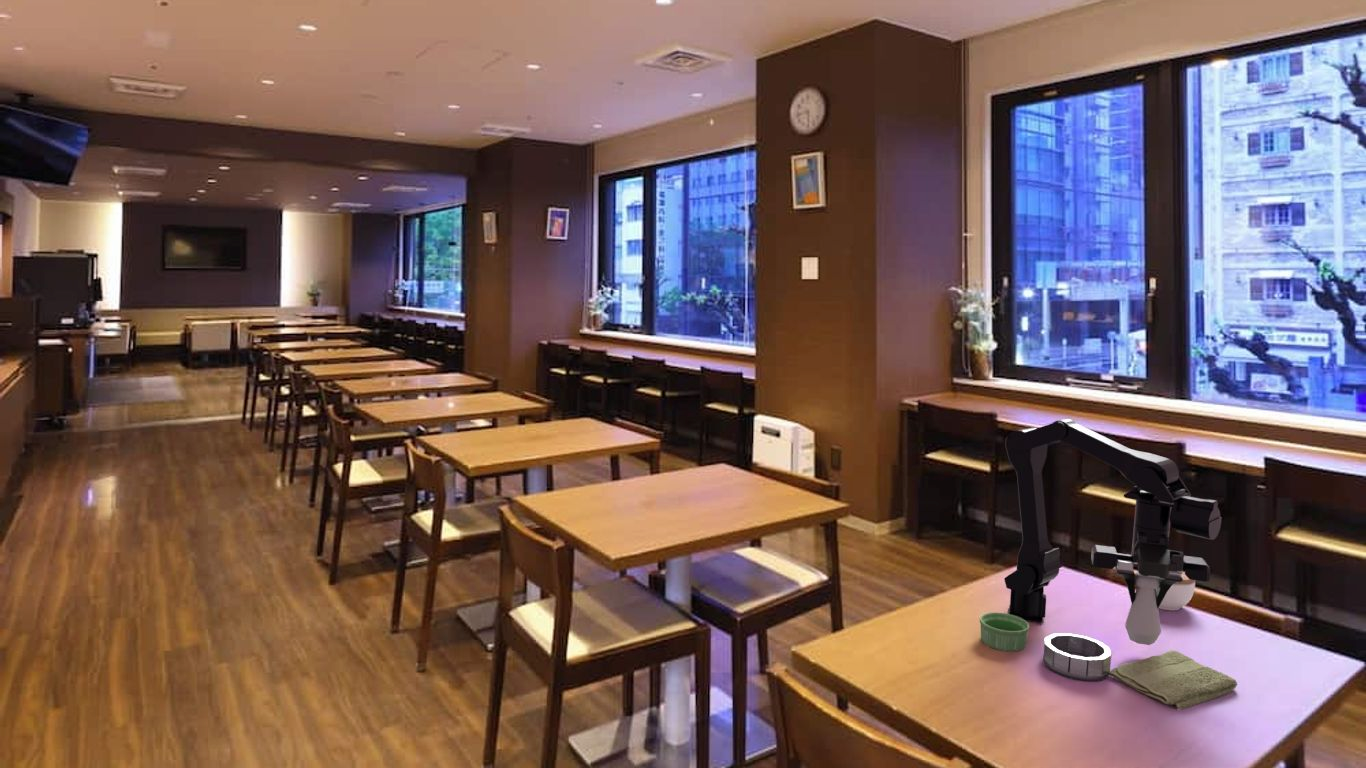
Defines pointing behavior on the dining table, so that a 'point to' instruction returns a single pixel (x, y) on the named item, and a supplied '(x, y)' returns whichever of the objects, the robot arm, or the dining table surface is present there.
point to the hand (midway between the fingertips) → (1144, 606)
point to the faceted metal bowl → (1077, 657)
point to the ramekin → (1003, 631)
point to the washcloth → (1174, 679)
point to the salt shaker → (1144, 611)
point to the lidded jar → (1178, 594)
